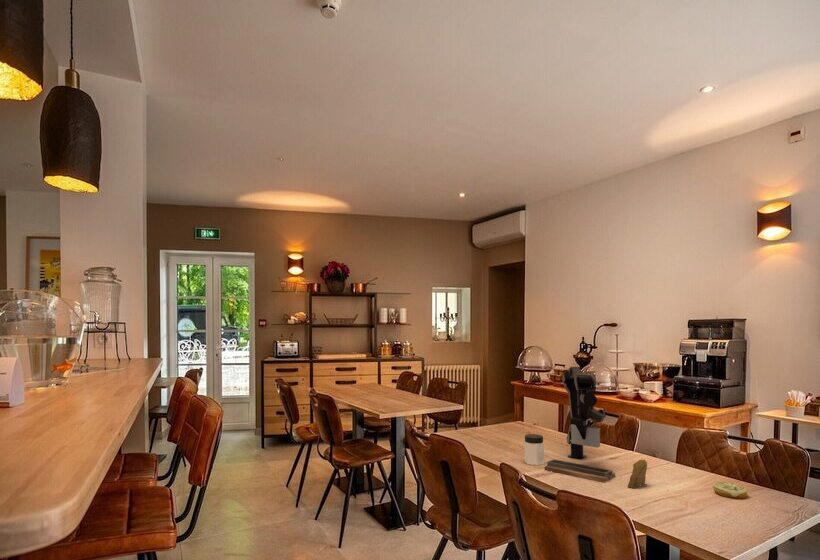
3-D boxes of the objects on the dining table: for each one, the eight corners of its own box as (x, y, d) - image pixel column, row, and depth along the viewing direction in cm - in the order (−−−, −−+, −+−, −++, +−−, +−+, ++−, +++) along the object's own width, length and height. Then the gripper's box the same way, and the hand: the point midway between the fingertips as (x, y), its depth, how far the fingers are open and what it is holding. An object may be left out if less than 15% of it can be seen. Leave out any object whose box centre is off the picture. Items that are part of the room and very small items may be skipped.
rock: (635, 485, 196) (657, 479, 199) (623, 463, 202) (645, 458, 204) (623, 495, 204) (644, 489, 207) (611, 474, 210) (632, 468, 212)
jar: (534, 466, 229) (533, 438, 230) (520, 462, 236) (520, 435, 237) (548, 463, 234) (547, 436, 235) (534, 459, 241) (534, 433, 242)
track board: (556, 464, 232) (556, 458, 232) (614, 476, 215) (614, 469, 215) (544, 470, 224) (544, 463, 224) (604, 482, 206) (604, 474, 207)
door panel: (573, 442, 235) (573, 424, 235) (600, 446, 227) (599, 427, 227) (571, 443, 233) (571, 425, 233) (597, 447, 225) (597, 428, 225)
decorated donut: (739, 502, 185) (738, 491, 186) (708, 493, 194) (707, 483, 195) (752, 496, 191) (752, 485, 192) (721, 488, 200) (721, 478, 200)
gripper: (593, 407, 219) (594, 445, 218) (610, 402, 233) (611, 438, 232) (568, 404, 226) (569, 441, 225) (586, 400, 240) (587, 434, 239)
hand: (585, 438), depth 230 cm, fingers closed on door panel, 2 cm apart
